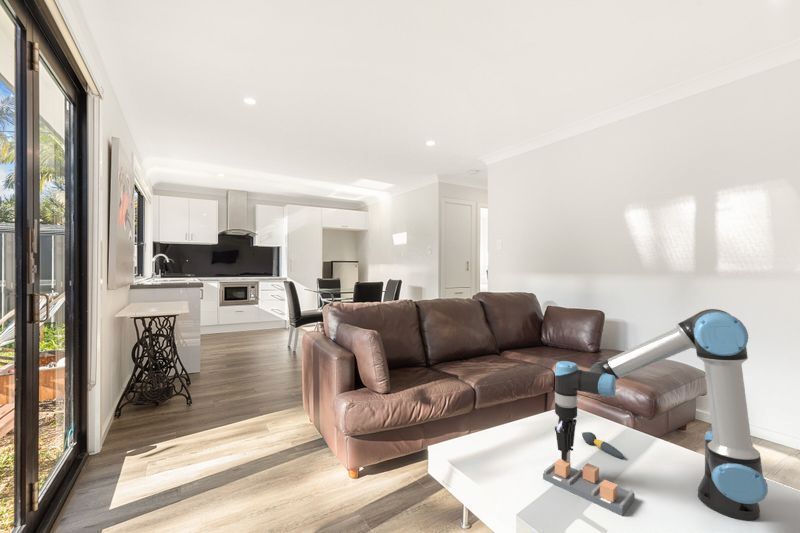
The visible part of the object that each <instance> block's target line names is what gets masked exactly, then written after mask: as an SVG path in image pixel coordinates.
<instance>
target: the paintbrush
mask: <svg viewBox="0 0 800 533" xmlns="http://www.w3.org/2000/svg"><path fill="white" fill-rule="evenodd" d="M581 437H582V439H583V440H584V442H585V443H586V444H587V445H595V446H596V447H597V448H598V449H600V450H601V451H603V452H604V453H606V454H609V455H610V456H612V457H615V458H618V459H625V455H624V454H623V453H622V451H619V450H618V449H617V448H616V447H614V446H613V445H611V444H609V443H608V442H606V441H604V440H600V439H597V436H596V434H595V433H594V432H591V431H586V432H581Z"/></svg>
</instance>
